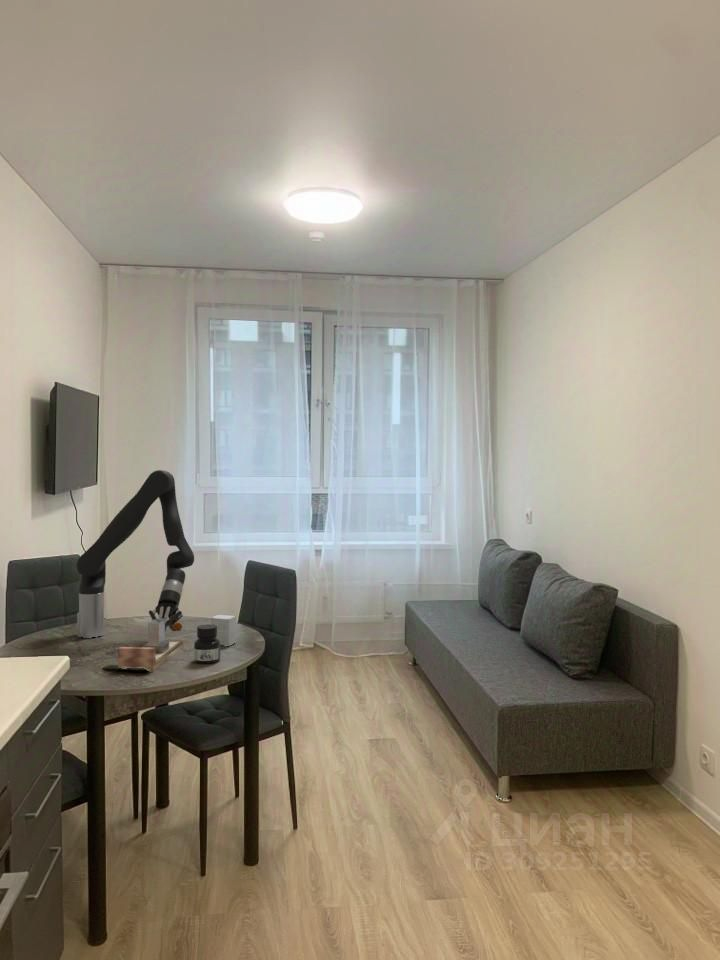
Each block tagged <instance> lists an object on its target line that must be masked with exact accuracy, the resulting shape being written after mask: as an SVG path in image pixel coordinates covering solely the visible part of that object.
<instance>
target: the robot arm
mask: <svg viewBox="0 0 720 960" xmlns="http://www.w3.org/2000/svg"><path fill="white" fill-rule="evenodd" d="M175 482H176V481H175V477H174V475H173V474H172V473H171V472H169V471H168V470H162V469H158V470H154V471H153V472H151V473H149V475H148V476H147V478H146V480H145V481H144V483H143V484H142V485H141V486H140V488H139V490H138V491H137V492H136V493H135V495H134V496H133V497H132V498H131V499H130V500H129V501H128V502H127V503H125V505H124V506H123V507H122V508H121V510H119V512H118V513H117V514H116V515H115V516H114V518H113V519H112V520H111V521H110V523H108V525H107V526H106V527H105V529H104V530H103V531H102V533H101V534H100V536H99V537H98V538H97V540H96V541H95V542H94V543H93V544H92V545H91V546H90V547H88V548H87V550H85V551H84V552H83V554H81V555H80V556H79V557H78V558H77V562H76V571H77V573H78V574H80V576H81V580H80V583H79V586H78V602H79V603H78V605H79V606H78V608H79V609H78V610H79V611H78V612H77V613H76V625H77V626H76V629H77V630H76V632H77V633H76V637H77V636H78V637H77V638H81V637H83V638H84V639H93V638H92V637H96V638H99V637H98V636H101V637H103V636H105V584H106V574H107V573H106V572H107V571H106V569H107V568H106V564H107V563H106V560H107V559H108V557H109V556H110V555H112V553H113V552H114V551H115V550H116V549H117V548H118V547H119V546H121V545H122V544H124V542H125V541H126V540H128V538H130V537H131V535H132V534H133V533H134V532H136V530H137V529H138V527H139V526H141V524H142V522H143V521H144V519H145V517H146V515H147V512H148V510H149V509H150V507H151V506H152V505H153V504H154V503H155V502H156V500H157V499H159V503H160V505H161V512H162V513H161V514H162V526H163V531H164V532H163V533H164V534H165V536H164V537H165V538H166V540H165V541H166V543H167V545H168V546H171V547H176V548H177V549H178V550H175V551H173V552H171V553H169V554H168V556H167V558H166V577H165V580H164V583H163V586H162V589H161V591H160V595H159V598H158V601H157V606H155V609H153V610H149V611H148V614H149V616H150V618H151V621H152V620H154V619H157V618H156V616H157V615H158V619H159V620H165V632H166V631H167V628H168V627H171V626H172V627H173V624H174V623H176V622H179V620H180V619H181V618H183V617H184V615H183V612H182V611H181V610H179V605H180V602H181V598H182V595H183V591H184V589H183V588H184V585H185V581H186V572H185V571H184V570H183V569H185V568H189V567H192V566H193V564H194V562H195V555H194V552H193V550H192V548H191V546H190V545H189V542H188V541H187V539H186V537H185V534H184V529H183V525H182V520H181V517H180V513H179V508H178V502H177V495H176V483H175ZM102 635H103V636H102ZM83 638H82V639H83Z"/></svg>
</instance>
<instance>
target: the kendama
mask: <svg viewBox="0 0 720 960" xmlns="http://www.w3.org/2000/svg"><path fill="white" fill-rule="evenodd" d="M172 628H173V629H174V631H176V630H177V631H181V630H182V628H183V625H182V623H181V622H179V621H177V622H176V623H174V624H173V625H172Z"/></svg>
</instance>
